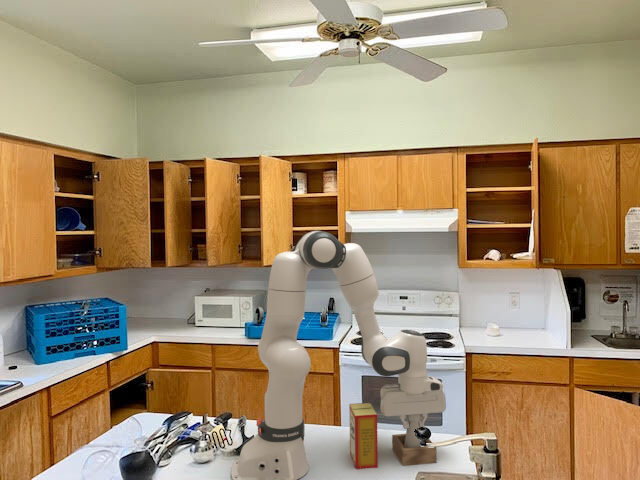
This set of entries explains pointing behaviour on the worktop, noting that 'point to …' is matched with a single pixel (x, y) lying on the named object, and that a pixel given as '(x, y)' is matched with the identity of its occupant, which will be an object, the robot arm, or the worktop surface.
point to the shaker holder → (412, 452)
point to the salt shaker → (412, 431)
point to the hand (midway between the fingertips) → (413, 427)
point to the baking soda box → (363, 436)
